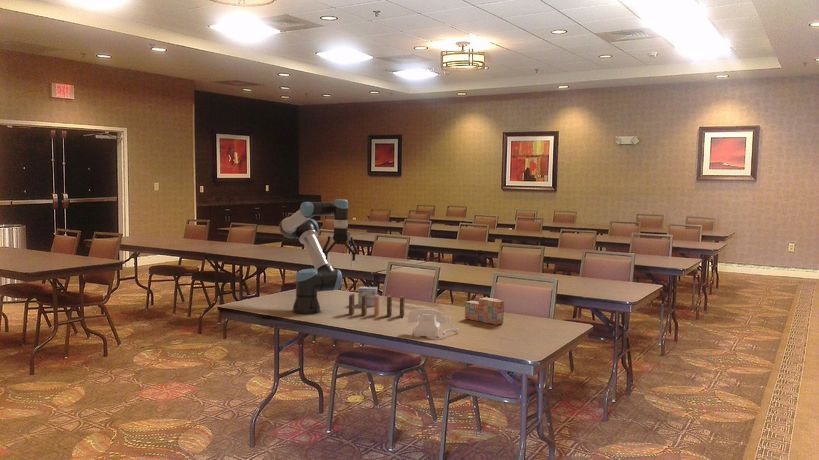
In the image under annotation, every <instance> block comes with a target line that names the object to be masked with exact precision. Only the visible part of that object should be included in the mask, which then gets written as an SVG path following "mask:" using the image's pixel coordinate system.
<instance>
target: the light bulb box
mask: <svg viewBox="0 0 819 460" xmlns="http://www.w3.org/2000/svg"><path fill="white" fill-rule="evenodd" d="M357 291H358V292H357V293H358V294H357V297H358V298H357V299H358V300H357V302H358V305H357V306H358V307H362V295H363V294H367V307H374V296H375V295H378V286H359V287H358V289H357Z"/></svg>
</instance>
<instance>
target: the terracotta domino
mask: <svg viewBox="0 0 819 460" xmlns="http://www.w3.org/2000/svg"><path fill="white" fill-rule="evenodd" d="M373 309H374V311H373V315H374V316H373V317H378V316H379V315H380V294H377V295H375V296H374V306H373Z"/></svg>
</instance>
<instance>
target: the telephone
mask: <svg viewBox="0 0 819 460" xmlns="http://www.w3.org/2000/svg"><path fill="white" fill-rule="evenodd" d="M447 318H448V324H449V325H450V327H451V329H450V328H447V329H445V330H443V331H442V333H443V336H439V337H438V335H439V333H440V331H441V325H443V326H444V325H446V324H447ZM407 323H410V324H413V323H417V324H416V325H415V327H414V329H413V336H414V337H418V338H420V337H426V338H427V339H429V340H433V341H434V340H437V341H439V340H443V339H445V338H446V336H447V332H460V331H461V329H460V328H458V327H456V326H454V325H453V324H452V316H451V315H446V313H445V312H444V311H442V310H441V311H440V310H437V309H432V308H420V309H414V310H411V311H409V313H408V315H407Z"/></svg>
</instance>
